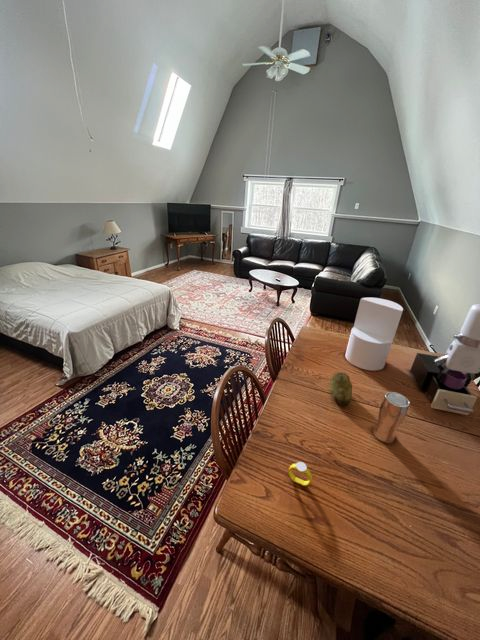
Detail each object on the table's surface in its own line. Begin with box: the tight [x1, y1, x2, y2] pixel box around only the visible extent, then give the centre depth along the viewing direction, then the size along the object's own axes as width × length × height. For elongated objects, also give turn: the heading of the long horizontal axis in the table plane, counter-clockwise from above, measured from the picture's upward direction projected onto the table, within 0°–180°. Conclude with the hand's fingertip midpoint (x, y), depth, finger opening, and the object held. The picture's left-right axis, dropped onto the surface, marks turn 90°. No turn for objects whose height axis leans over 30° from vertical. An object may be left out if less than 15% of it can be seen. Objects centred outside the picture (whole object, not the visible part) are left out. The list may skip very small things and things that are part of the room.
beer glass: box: [372, 391, 411, 444], centre depth 83 cm, size 7×7×15 cm
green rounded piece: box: [330, 371, 353, 407], centre depth 100 cm, size 8×13×8 cm, turn 155°
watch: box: [287, 461, 313, 487], centre depth 70 cm, size 6×3×6 cm, turn 61°
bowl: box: [443, 370, 468, 389], centre depth 97 cm, size 7×7×5 cm
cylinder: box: [345, 297, 404, 371], centre depth 120 cm, size 17×17×28 cm
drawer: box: [424, 374, 478, 416], centre depth 98 cm, size 18×11×8 cm, turn 164°
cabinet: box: [409, 352, 444, 393], centre depth 110 cm, size 14×13×10 cm
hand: (452, 382), depth 98 cm, fingers closed on bowl, 6 cm apart
